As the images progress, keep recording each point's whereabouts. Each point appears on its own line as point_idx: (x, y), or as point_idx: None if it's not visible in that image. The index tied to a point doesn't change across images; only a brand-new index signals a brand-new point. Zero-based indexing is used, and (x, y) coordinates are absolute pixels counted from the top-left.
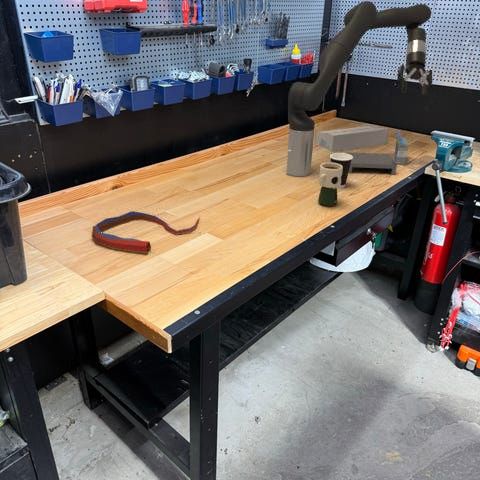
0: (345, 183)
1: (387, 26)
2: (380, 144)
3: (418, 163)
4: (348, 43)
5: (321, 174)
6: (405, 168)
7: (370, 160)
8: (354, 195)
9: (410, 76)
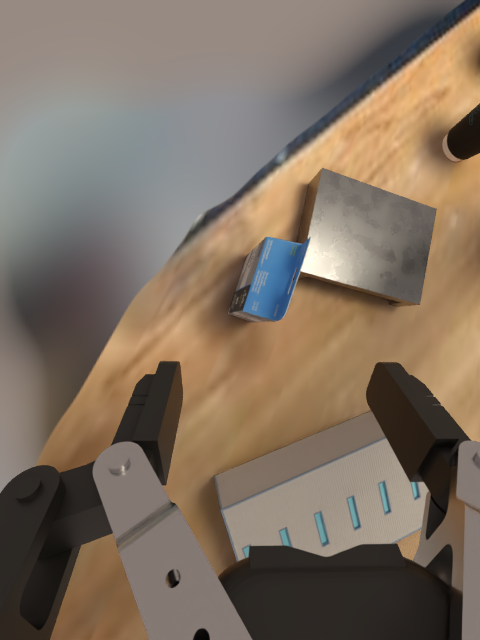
0: (452, 128)
1: None
2: (238, 466)
3: (199, 263)
4: None
5: None
6: (259, 227)
7: (377, 219)
8: (438, 87)
9: (467, 506)
